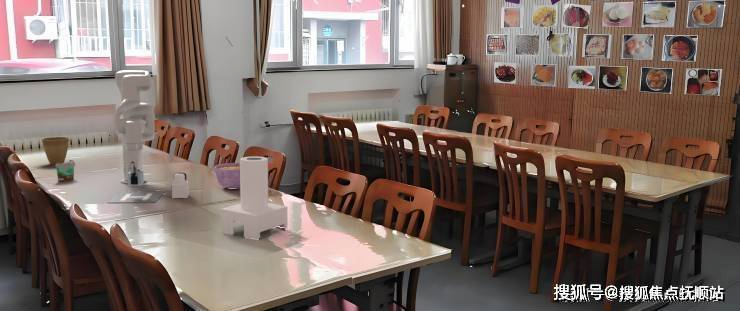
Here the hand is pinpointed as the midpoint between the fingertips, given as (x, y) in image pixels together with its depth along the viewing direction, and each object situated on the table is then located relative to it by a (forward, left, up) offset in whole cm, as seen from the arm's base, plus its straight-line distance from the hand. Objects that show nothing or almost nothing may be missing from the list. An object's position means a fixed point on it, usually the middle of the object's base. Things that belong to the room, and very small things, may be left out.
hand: (136, 182), depth 319 cm
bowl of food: (-20, +45, -8) cm, 50 cm away
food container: (-43, -45, -8) cm, 63 cm away
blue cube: (0, 0, -1) cm, 1 cm away
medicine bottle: (0, +21, -8) cm, 22 cm away
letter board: (0, 0, -7) cm, 7 cm away
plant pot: (-91, -67, -8) cm, 113 cm away
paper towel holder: (+62, +60, -8) cm, 86 cm away
